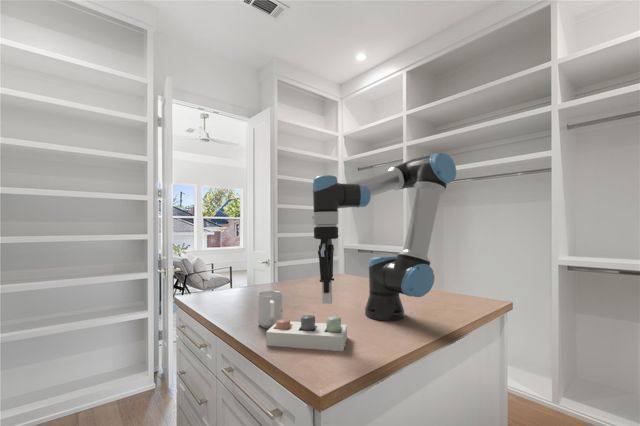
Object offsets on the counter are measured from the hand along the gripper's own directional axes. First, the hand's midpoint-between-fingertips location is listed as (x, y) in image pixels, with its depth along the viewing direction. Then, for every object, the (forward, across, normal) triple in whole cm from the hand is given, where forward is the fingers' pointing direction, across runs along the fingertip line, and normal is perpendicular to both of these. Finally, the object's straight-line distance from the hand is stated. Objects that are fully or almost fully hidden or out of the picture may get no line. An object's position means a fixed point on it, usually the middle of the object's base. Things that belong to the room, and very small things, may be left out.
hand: (327, 302), depth 95 cm
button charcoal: (+9, +1, -6) cm, 11 cm away
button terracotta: (+10, +1, -14) cm, 18 cm away
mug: (+12, -11, -23) cm, 28 cm away
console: (+12, +1, -6) cm, 13 cm away
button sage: (+9, 0, +2) cm, 9 cm away
